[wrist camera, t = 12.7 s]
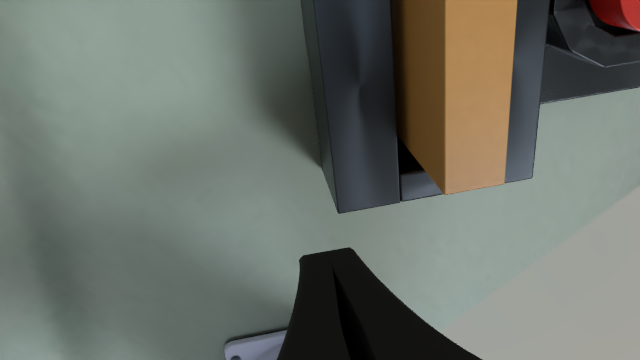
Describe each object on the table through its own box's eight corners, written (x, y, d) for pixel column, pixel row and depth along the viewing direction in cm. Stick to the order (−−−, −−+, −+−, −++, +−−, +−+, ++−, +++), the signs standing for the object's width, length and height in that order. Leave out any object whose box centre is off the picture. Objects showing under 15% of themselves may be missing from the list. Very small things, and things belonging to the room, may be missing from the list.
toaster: (487, 141, 23) (533, 178, 19) (322, 170, 22) (338, 214, 19) (499, -101, 18) (562, -110, 15) (290, -73, 18) (304, -76, 14)
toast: (431, 116, 21) (505, 184, 15) (387, 124, 21) (444, 195, 15) (430, -33, 18) (519, -19, 12) (379, -26, 18) (445, -8, 12)
